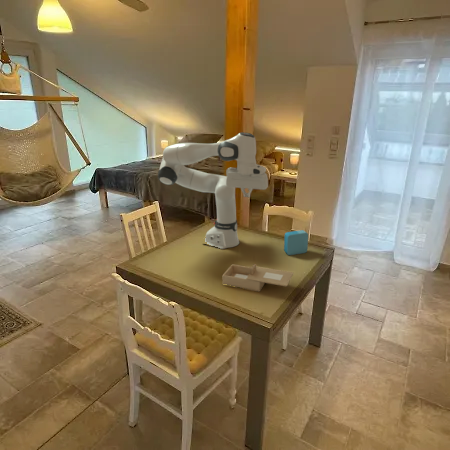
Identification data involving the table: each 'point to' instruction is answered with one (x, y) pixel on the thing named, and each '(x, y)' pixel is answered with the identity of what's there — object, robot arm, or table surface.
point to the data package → (296, 242)
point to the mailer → (240, 278)
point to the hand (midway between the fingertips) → (246, 196)
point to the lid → (269, 275)
